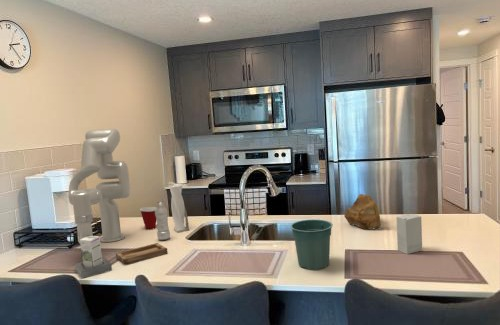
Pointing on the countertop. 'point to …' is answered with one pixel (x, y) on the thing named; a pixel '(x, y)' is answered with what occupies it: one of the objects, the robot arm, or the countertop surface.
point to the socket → (93, 268)
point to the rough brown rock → (363, 213)
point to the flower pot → (312, 243)
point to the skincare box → (409, 233)
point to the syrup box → (91, 251)
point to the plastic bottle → (162, 221)
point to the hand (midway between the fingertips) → (88, 257)
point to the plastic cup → (149, 217)
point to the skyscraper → (178, 208)
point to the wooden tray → (141, 253)
